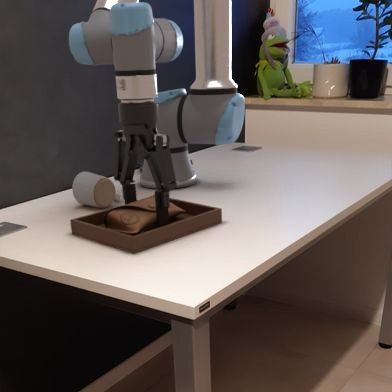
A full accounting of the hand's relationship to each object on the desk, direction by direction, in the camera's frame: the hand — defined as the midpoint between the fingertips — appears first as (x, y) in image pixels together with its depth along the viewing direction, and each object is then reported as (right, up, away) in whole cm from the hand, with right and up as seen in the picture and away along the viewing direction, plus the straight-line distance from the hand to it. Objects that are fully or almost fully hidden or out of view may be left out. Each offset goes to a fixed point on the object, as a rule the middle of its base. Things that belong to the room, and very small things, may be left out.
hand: (147, 219), depth 112 cm
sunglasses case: (0, 0, 0) cm, 0 cm away
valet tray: (0, -2, +1) cm, 2 cm away
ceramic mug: (-13, +8, +19) cm, 25 cm away
